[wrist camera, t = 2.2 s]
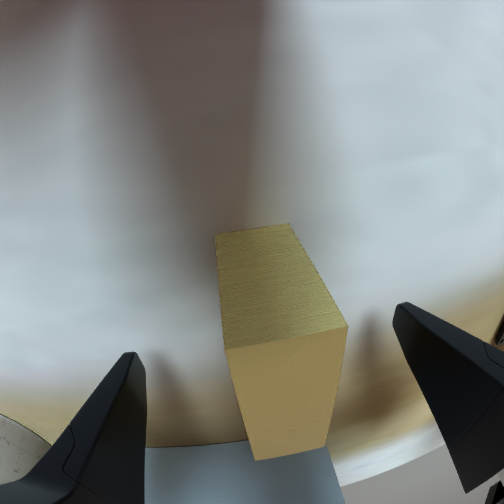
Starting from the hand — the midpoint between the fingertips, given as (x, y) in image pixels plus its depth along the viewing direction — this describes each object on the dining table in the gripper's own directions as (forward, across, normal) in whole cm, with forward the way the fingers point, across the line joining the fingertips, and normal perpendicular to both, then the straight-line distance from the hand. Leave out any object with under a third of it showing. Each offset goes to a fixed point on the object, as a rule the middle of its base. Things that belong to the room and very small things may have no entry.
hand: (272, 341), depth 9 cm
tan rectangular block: (+2, 0, 0) cm, 2 cm away
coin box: (+2, +4, +18) cm, 18 cm away
